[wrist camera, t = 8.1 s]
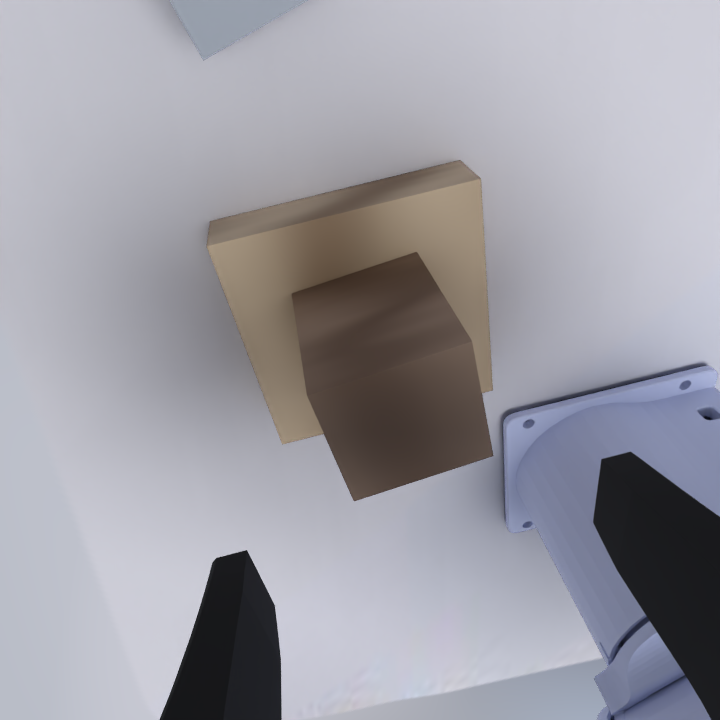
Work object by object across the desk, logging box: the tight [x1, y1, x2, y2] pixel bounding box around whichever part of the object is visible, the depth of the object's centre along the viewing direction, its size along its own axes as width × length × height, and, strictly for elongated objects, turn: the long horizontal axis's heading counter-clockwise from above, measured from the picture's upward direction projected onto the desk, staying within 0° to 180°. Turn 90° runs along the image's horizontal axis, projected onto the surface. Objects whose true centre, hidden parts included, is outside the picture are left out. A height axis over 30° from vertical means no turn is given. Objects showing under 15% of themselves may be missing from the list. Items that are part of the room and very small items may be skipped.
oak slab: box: [207, 160, 493, 444], centre depth 19 cm, size 8×8×2 cm
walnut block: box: [292, 252, 493, 501], centre depth 16 cm, size 4×4×5 cm
